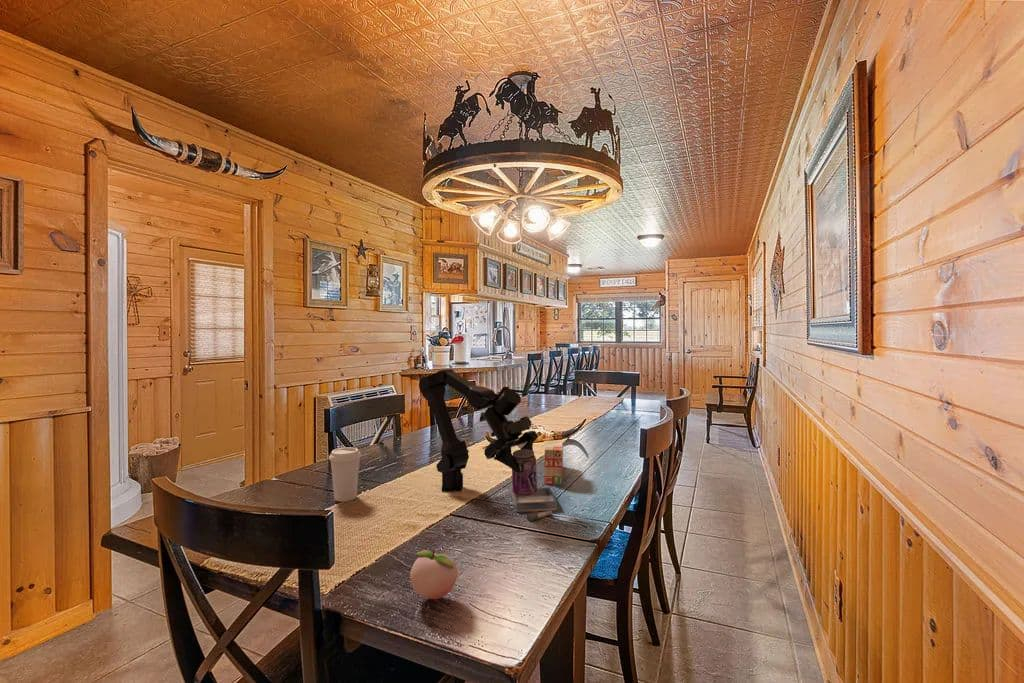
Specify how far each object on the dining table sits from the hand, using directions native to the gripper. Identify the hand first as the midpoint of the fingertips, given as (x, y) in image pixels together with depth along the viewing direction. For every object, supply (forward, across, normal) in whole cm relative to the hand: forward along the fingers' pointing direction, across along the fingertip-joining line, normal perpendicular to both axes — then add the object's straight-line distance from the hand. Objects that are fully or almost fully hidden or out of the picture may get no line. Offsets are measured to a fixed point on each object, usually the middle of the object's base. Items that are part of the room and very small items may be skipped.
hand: (527, 468), depth 135 cm
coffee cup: (-26, -28, +46) cm, 60 cm away
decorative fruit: (+19, -45, 0) cm, 49 cm away
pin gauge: (+12, 0, +6) cm, 14 cm away
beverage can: (+4, +1, +6) cm, 8 cm away
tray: (+7, +8, +12) cm, 16 cm away
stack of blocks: (-1, +34, +21) cm, 40 cm away
